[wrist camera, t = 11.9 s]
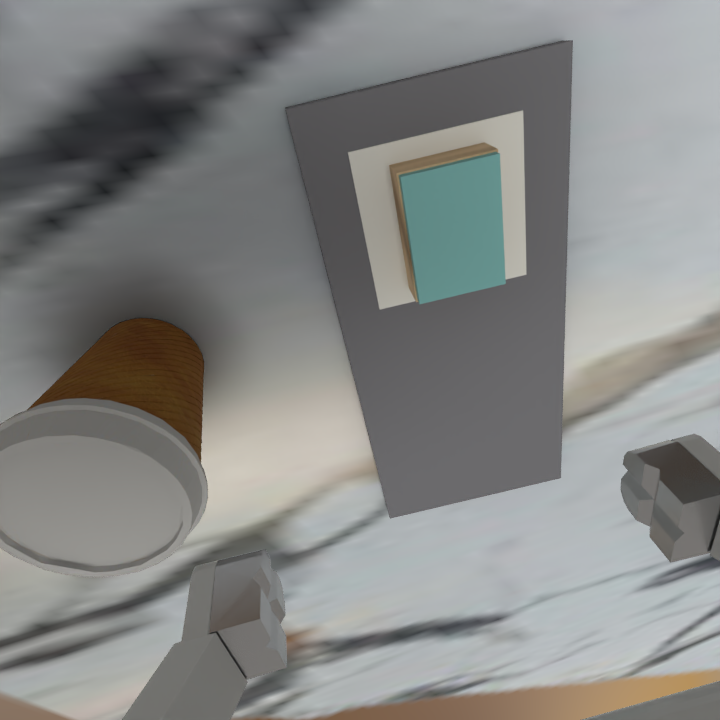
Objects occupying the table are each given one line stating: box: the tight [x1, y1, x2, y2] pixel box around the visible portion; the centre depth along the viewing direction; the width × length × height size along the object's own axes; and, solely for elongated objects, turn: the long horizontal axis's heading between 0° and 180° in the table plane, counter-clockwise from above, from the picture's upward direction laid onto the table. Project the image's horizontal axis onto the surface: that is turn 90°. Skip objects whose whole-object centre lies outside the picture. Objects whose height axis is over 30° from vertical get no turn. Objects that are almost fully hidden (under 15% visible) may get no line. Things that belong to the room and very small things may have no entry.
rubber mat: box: [285, 40, 573, 518], centre depth 32 cm, size 14×30×1 cm, turn 12°
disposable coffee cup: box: [0, 318, 208, 577], centre depth 26 cm, size 10×10×12 cm
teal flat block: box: [389, 142, 506, 304], centre depth 26 cm, size 7×5×2 cm
